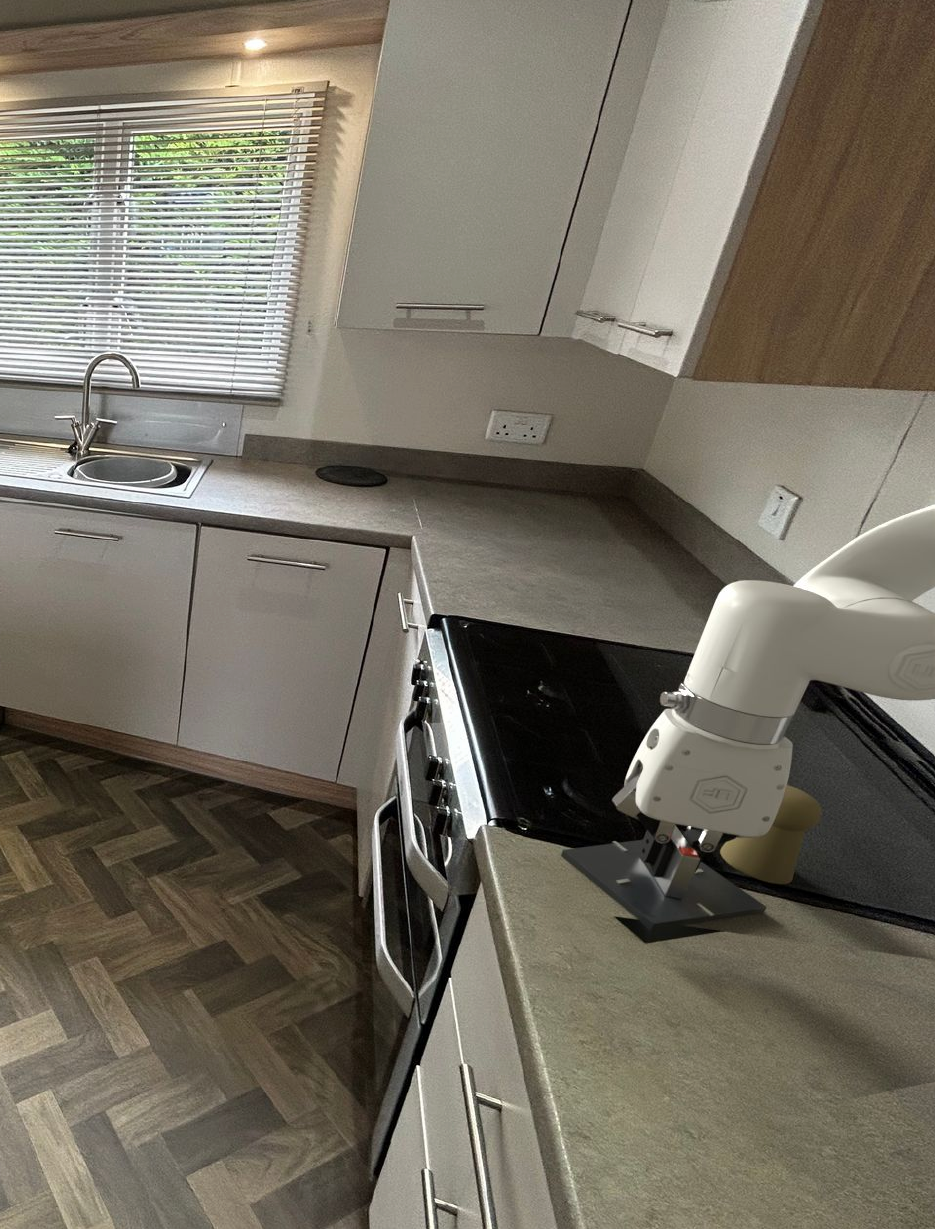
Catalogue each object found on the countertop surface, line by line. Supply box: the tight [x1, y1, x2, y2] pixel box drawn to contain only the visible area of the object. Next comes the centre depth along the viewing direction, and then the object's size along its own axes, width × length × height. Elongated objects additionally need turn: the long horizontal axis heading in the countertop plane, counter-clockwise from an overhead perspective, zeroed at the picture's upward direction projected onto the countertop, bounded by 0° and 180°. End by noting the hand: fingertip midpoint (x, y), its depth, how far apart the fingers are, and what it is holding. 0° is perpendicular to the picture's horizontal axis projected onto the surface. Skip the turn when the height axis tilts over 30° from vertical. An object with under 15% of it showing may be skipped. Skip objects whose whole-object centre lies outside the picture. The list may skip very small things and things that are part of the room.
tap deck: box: [560, 839, 767, 944], centre depth 76 cm, size 13×10×3 cm
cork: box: [719, 784, 822, 885], centre depth 78 cm, size 6×6×11 cm
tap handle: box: [654, 824, 700, 899], centre depth 75 cm, size 6×1×5 cm, turn 161°
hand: (663, 869), depth 76 cm, fingers closed
